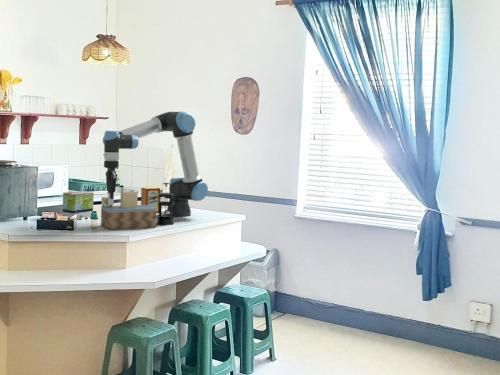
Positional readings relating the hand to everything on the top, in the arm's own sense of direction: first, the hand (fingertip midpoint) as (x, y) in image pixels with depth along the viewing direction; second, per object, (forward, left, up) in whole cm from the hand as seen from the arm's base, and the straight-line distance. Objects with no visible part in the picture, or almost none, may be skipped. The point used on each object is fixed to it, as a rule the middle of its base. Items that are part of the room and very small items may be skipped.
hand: (110, 204), depth 327 cm
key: (0, -7, -2) cm, 7 cm away
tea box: (+8, -38, -13) cm, 41 cm away
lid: (-10, 0, -5) cm, 11 cm away
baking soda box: (-38, -44, -13) cm, 60 cm away
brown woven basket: (-10, -2, -12) cm, 16 cm away
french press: (-33, -4, -13) cm, 35 cm away
